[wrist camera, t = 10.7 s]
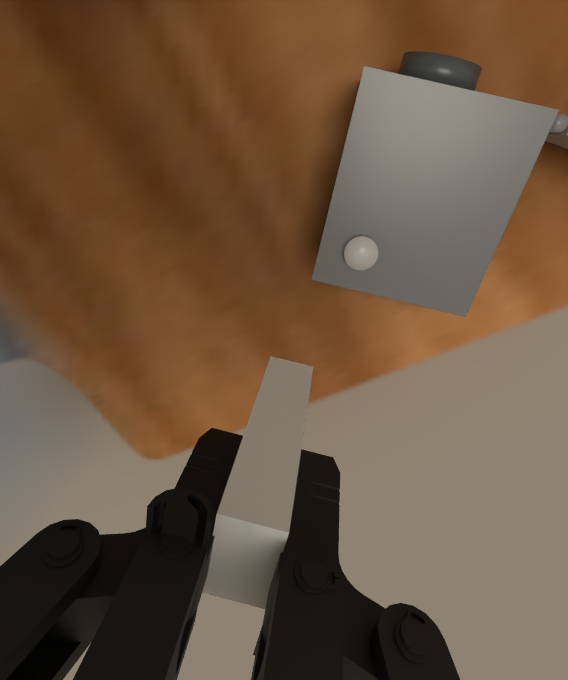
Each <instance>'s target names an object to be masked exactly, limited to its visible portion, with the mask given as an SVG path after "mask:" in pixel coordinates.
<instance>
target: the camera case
mask: <svg viewBox="0 0 568 680" xmlns="http://www.w3.org/2000/svg"><path fill="white" fill-rule="evenodd" d="M481 70H482V68H481V67H480V66H478V65H477V64H474V63H472V62H469V61H467V60H463V59H460V58H456V57H452V56H447V55H442V54H436V53H429V52H406V53H404V55H403V59H402V62H401V66H400V70H399V73H398V74H397V73H392V72H388V71H384V70H379V69H375V68H370V67H366V66H364V69H363V72H362V76H361V80H360V84H359V88H358V93H357V97H356V101H355V105H354V109H353V113H352V117H351V121H350V125H349V129H348V133H347V137H346V141H345V145H344V149H343V153H342V158H341V162H340V166H339V170H338V174H337V178H336V182H335V186H334V190H333V194H332V198H331V202H330V206H329V210H328V214H327V218H326V223H325V227H324V231H323V235H322V239H321V243H320V247H319V251H318V255H317V259H316V263H315V267H314V271H313V276H312V280H314V281H318V282H322V283H327V284H331V285H335V286H339V287H343V288H347V289H352V290H356V291H360V292H364V293H368V294H372V295H376V296H381V297H385V298H389V299H393V300H397V301H401V302H405V303H410V304H414V305H418V306H422V307H426V308H430V309H434V310H439V311H443V312H447V313H451V314H455V315H459V316H464V317H466V314H467V312H468V310H469V308H470V306H471V303H472V301H473V299H474V297H475V295H476V292H477V290H478V288H479V286H480V284H481V281H482V279H483V277H484V275H485V272H486V270H487V268H488V266H489V264H490V261H491V259H492V257H493V255H494V253H495V250H496V248H497V246H498V244H499V242H500V239H501V237H502V235H503V233H504V231H505V228H506V226H507V224H508V222H509V220H510V217H511V215H512V213H513V211H514V208H515V206H516V204H517V202H518V200H519V197H520V195H521V193H522V191H523V189H524V186H525V184H526V182H527V180H528V178H529V175H530V173H531V171H532V169H533V167H534V164H535V162H536V160H537V158H538V156H539V153H540V151H541V149H542V147H543V144H544V142H545V140H546V138H547V136H548V133H549V132H562V131H564V130H565V129H566V128H567V126H568V116H567V115H565V114H558V111H559V110H557V109H552V108H548V107H544V106H539V105H535V104H530V103H526V102H521V101H517V100H512V99H508V98H504V97H499V96H495V95H490V94H486V93H481V92H477V91H474V90H475V87H476V84H477V81H478V79H479V76H480V73H481ZM557 114H558V115H557Z"/></svg>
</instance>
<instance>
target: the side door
mask: <svg viewBox="0 0 568 680" xmlns="http://www.w3.org/2000/svg"><path fill="white" fill-rule="evenodd" d="M545 141H547V142H549V143H552V144H555V145H558V146H560V147H563V148H566V149H568V126H567V128H566V129H565V130H564V131H562V132H549V133H548V136H547V138H546V140H545Z"/></svg>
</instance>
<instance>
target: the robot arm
mask: <svg viewBox="0 0 568 680" xmlns="http://www.w3.org/2000/svg"><path fill="white" fill-rule="evenodd" d="M312 373H313V367H312V366H308V365H304V364H300V363H296V362H292V361H288V360H284V359H280V358H276V357H272V356H270V359H269V362H268V365H267V368H266V371H265V374H264V377H263V380H262V383H261V386H260V389H259V392H258V394H257V397H256V400H255V403H254V406H253V409H252V412H251V415H250V418H249V421H248V424H247V427H246V430H245V432H244V435H243V436H241V435H238V434H234V433H230V432H226V431H222V430H218V429H214V428H211V429H210V430H209V431H207V432H206V433H205V434H204V435H202V436H201V437H200V438H199V439H198V441H197V443H196V445H195V447H194V449H193V452H192V455H191V456H190V458H189V460H188V462H187V465H186V466H185V468H184V470H183V472H182V474H181V476H180V478H179V480H178V483H177V485H176V487H175V489H171V490H166V491H164V492H163V493H161V494H160V495H158V496H156V497H155V498H154V499H153V500H152V501H151V503H150V504H149V505H148V506H147V520H146V528H144V529H141V530H138V531H136V532H131V533H124V534H106V535H99V532H98V530H97V529H96V528H95V527H94V526H93V525H92V524H91V523H89V522H85V521H82V520H79V519H74V520H63V521H60V522H57V523H54V524H51V525H49V526H47V527H46V528H45V529H43V530H42V531H40V532H39V533H37V534H36V535H35V536H34V537H33V538H32V539H30V540H29V541H28V542H27V543H26V544H25V545H24V546H23V547H21V548H20V549H19V550H18V551H17V552H16V553H15V554H14V555H13V556H12V557H10V558H9V559H8V560H7V561H6V562H5V563H4V564H3V565H1V566H0V680H63V679H64V677H65V676H66V674H68V672H69V671H70V670H71V668H72V667H73V666H74V664H75V663H76V662H77V660H78V659H79V658H80V656H81V655H82V654H83V652H84V651H85V650H86V648H87V647H88V646H89V644H90V643H91V645H90V646H89V648H88V650H87V652H86V655H85V656H84V658H83V661H82V662H81V664H80V666H79V668H78V670H77V672H76V674H75V677H74V678H73V680H177V677H178V674H179V670H180V667H181V664H182V661H183V658H184V654H185V651H186V648H187V644H188V642H189V638H190V635H191V632H192V629H193V625H194V622H195V618H196V612H197V607H198V604H199V601H200V597H201V594H202V593H207V594H210V595H214V596H218V597H221V598H225V599H229V600H233V601H236V602H240V603H244V604H248V605H252V606H255V607H259V608H263V609H265V607H266V609H265V615H264V620H263V625H262V628H261V631H260V635H259V638H258V641H257V644H256V647H255V650H254V653H253V655H255V661H254V666H253V672H252V678H251V680H460V678H459V676H458V673H457V670H456V668H455V665H454V663H453V660H452V657H451V655H450V652H449V650H448V647H447V645H446V642H445V639H444V638H443V636H442V634H441V632H440V630H439V629H438V627H437V626H436V624H435V623H434V622H433V621H432V620H431V619H430V618H429V617H428V616H427V614H425V613H424V612H422V611H421V610H419V609H417V608H416V607H414V606H412V605H407V604H403V603H398V604H394V605H390V606H388V608H386V609H385V608H384V607H382V606H380V605H379V604H377V603H376V602H374V601H372V600H371V599H369V598H367V597H366V596H364V595H363V594H362V593H360V592H359V591H358V590H356V589H355V588H354V587H353V586H352V584H350V582H349V581H348V580H347V578H346V576H345V575H344V573H343V572H342V569H341V566H340V563H339V556H338V543H339V498H340V497H339V496H340V492H339V489H340V472H339V469H338V467H337V465H336V463H335V461H334V458H333V457H329V456H325V455H321V454H317V453H313V452H310V451H306V450H302V449H301V447H302V441H303V434H304V427H305V420H306V414H307V407H308V400H309V393H310V386H311V379H312Z"/></svg>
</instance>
